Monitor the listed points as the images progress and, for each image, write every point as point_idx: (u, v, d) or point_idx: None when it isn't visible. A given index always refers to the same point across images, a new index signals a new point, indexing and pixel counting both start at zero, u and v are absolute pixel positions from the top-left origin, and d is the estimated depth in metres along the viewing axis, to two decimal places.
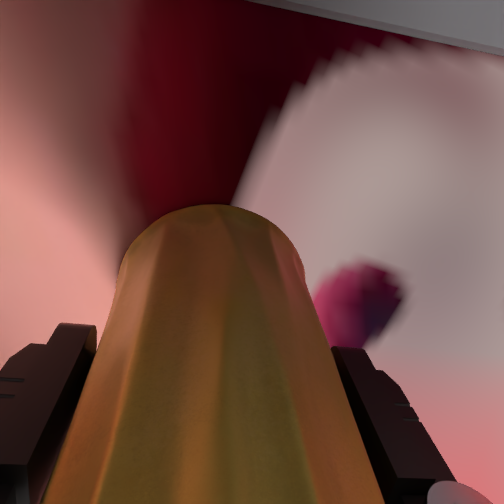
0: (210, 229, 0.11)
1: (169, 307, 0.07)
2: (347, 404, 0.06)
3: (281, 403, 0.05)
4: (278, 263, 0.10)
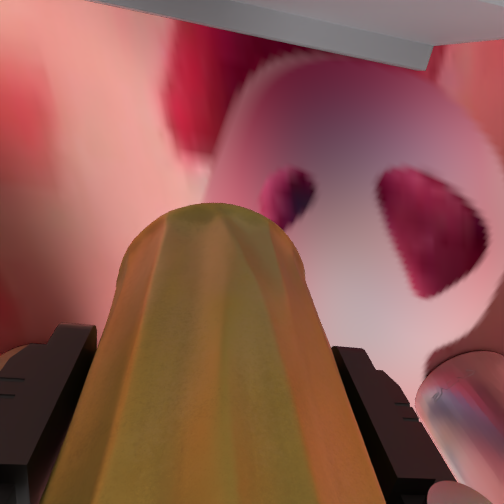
0: (210, 227, 0.11)
1: (170, 304, 0.07)
2: (347, 401, 0.06)
3: (281, 400, 0.05)
4: (278, 261, 0.10)
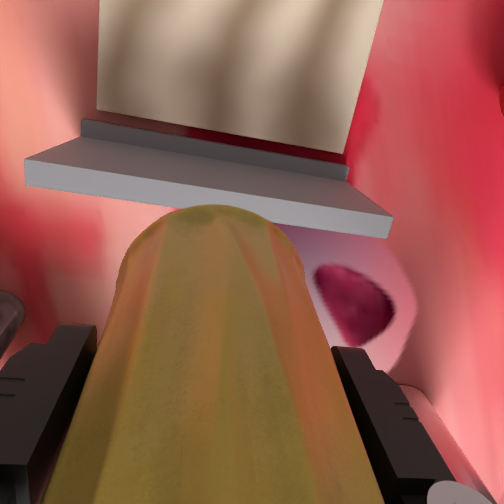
0: (210, 229, 0.11)
1: (169, 307, 0.07)
2: (347, 404, 0.06)
3: (280, 403, 0.05)
4: (278, 263, 0.10)
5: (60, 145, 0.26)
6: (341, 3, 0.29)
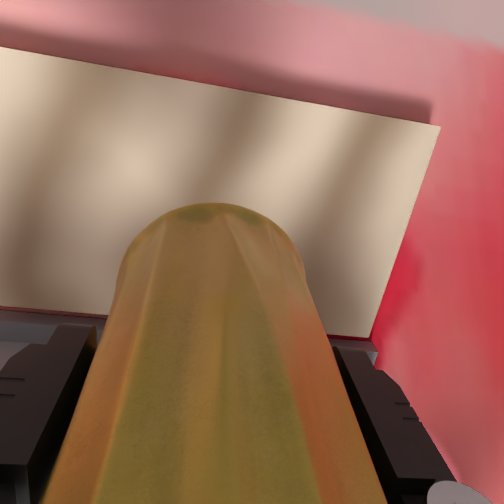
0: (210, 227, 0.11)
1: (170, 305, 0.07)
2: (348, 402, 0.06)
3: (281, 400, 0.05)
4: (279, 261, 0.10)
5: None
6: (370, 149, 0.18)
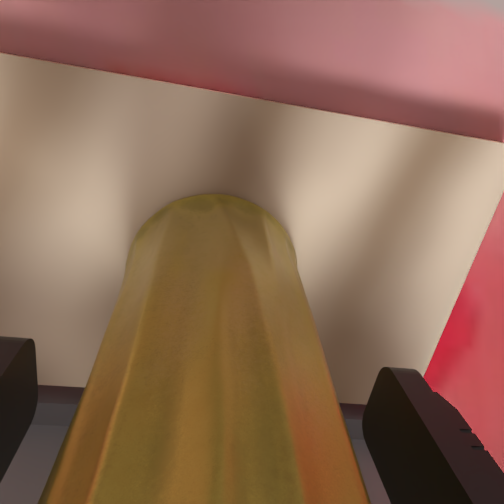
0: (210, 215, 0.12)
1: (173, 278, 0.09)
2: (321, 357, 0.08)
3: (262, 348, 0.07)
4: (270, 245, 0.11)
5: None
6: (426, 177, 0.14)
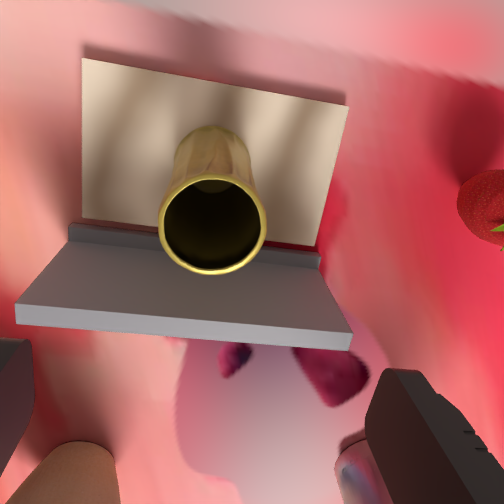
0: (211, 132, 0.29)
1: (199, 142, 0.26)
2: (247, 161, 0.25)
3: (227, 149, 0.24)
4: (234, 140, 0.28)
5: (48, 265, 0.29)
6: (307, 120, 0.31)
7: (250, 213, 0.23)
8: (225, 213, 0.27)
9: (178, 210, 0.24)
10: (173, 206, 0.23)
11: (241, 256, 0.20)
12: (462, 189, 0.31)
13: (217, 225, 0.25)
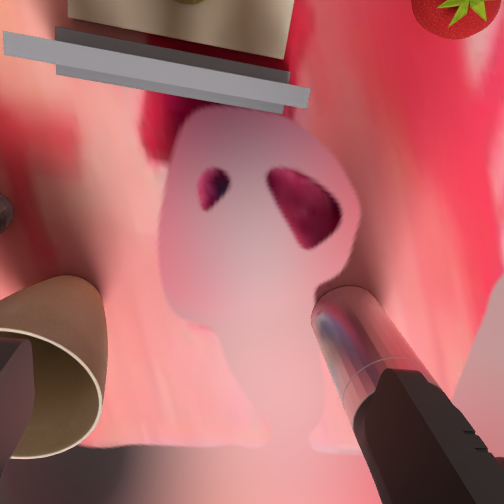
0: None
1: None
2: None
3: None
4: None
5: None
6: None
7: None
8: None
9: None
10: None
11: None
12: None
13: None
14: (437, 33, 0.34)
